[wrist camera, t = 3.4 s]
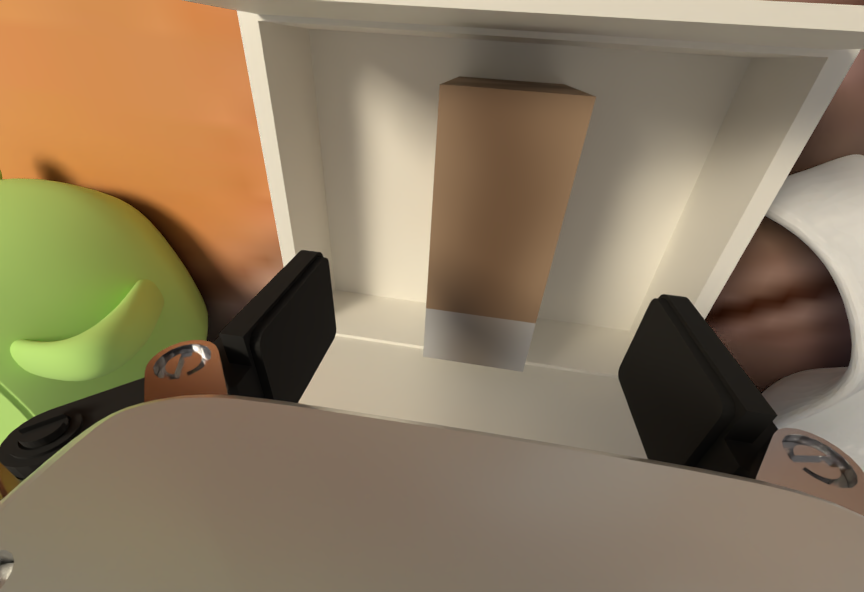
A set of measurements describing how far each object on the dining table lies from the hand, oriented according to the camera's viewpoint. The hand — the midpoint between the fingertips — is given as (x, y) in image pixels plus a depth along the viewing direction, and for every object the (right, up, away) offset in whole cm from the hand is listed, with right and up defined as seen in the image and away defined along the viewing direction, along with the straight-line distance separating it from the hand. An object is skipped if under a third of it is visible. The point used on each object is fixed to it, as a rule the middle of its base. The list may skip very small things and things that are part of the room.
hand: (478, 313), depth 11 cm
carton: (+2, +6, +10) cm, 12 cm away
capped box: (+2, +6, +10) cm, 12 cm away
